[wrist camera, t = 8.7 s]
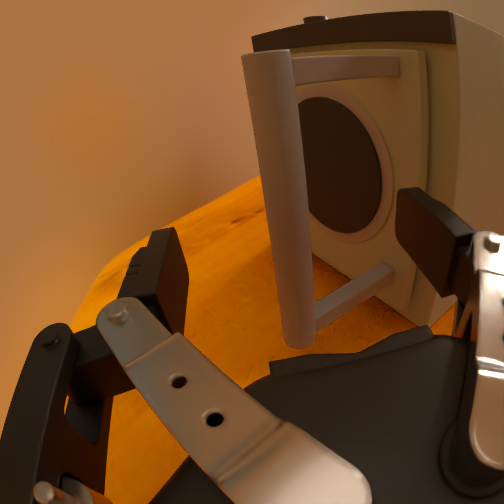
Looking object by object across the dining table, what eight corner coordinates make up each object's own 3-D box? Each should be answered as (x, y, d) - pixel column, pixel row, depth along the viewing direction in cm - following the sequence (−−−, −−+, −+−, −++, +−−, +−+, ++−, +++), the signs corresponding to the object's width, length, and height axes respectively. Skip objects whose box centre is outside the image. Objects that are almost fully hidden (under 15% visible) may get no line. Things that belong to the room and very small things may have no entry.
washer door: (409, 306, 18) (426, 51, 10) (305, 380, 15) (269, 49, 8) (284, 224, 29) (260, 58, 21) (200, 261, 26) (153, 79, 18)
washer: (507, 244, 23) (526, 37, 13) (420, 336, 18) (444, -12, 8) (387, 190, 35) (379, 27, 25) (280, 237, 30) (248, 24, 20)
